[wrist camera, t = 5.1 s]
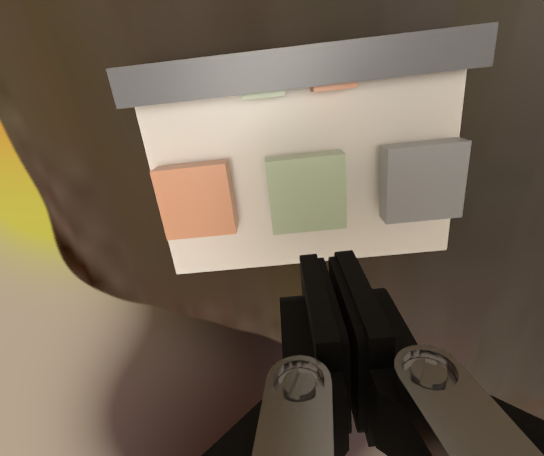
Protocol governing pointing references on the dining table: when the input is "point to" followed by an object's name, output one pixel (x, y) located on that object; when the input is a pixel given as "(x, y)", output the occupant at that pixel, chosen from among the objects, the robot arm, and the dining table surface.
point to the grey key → (423, 180)
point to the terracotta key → (195, 199)
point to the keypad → (305, 130)
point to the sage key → (307, 191)
